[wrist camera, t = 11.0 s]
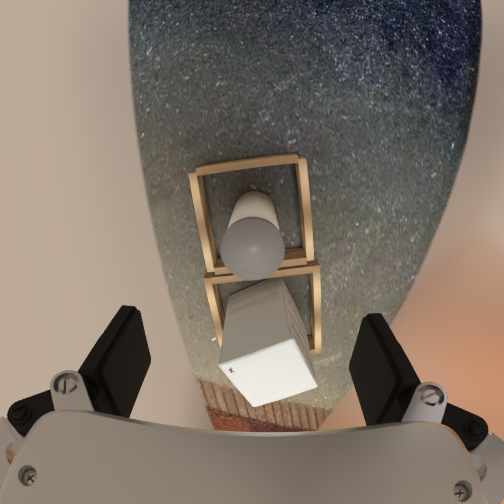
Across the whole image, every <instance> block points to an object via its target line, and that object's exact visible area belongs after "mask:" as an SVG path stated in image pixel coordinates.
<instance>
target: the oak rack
mask: <svg viewBox="0 0 504 504" xmlns="http://www.w3.org/2000/svg"><path fill="white" fill-rule="evenodd" d="M292 163H295V168H296V178H297V188H298V198H299V209H300V220H301V232H302V245H303V247H302V248H293V249H285V255H284V259H283V262H282V264H281V265H280V267H279V268H278V269H277V271H275V272H274V273H273V274H272V275H270V276H268V277H266V278H274V277H283V276H291V275H300V274H308V273H309V277H310V299H311V330H312V335H311V336H307V339H308V344H309V348H310V353H311V354H317V353H321V285H320V265H319V262H318V260H317V258H316V256H315V255H314V248H313V231H312V217H311V204H310V192H309V181H308V171H307V161H306V158H305V157H302V156H299V157H298V155H297V154H294V153H292V154H282V155H273V156H264V157H256V158H248V159H241V160H233V161H227V162H220V163H214V164H208V165H202V166H199V167H197V168H195V169H196V170H194V171H192V172H191V173H189V174H188V175H189V181H190V186H191V192H192V197H193V203H194V208H195V213H196V219H197V224H198V229H199V234H200V239H201V244H202V249H203V254H204V258H205V263H206V268H207V270H206V273H205V276H204V283H205V287H206V292H207V296H208V300H209V304H210V308H211V313H212V317H213V321H214V325H215V329H216V333H217V337H218V340H219V344H220V348H221V343H222V336H223V330H224V323H225V315H224V311H223V306H222V302H221V297H220V292H219V288H218V284H219V283H229V282H238V281H247V280H246V279H242V278H239V277H237V276H235V275H234V274H232V273H231V272H230V271H229V270H228V269H227V268H226V266H225V265H224V263H223V261H222V258H221V257H217V253H216V247H215V242H214V237H213V231H212V226H211V220H210V215H209V209H208V204H207V198H206V192H205V186H204V180H203V175H207V174H213V173H220V172H227V171H234V170H241V169H248V168H256V167H264V166H273V165H282V164H292ZM266 278H264V279H266Z"/></svg>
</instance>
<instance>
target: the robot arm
mask: <svg viewBox="0 0 504 504" xmlns="http://www.w3.org/2000/svg"><path fill="white" fill-rule="evenodd" d="M150 363H151V356H150V352H149V348H148V344H147V340H146V335H145V331H144V326H143V322H142V317H141V313H140V311H139V310H137V308H136V307H135V306H126V305H123V306H121V308H120V309H119V311H118V312H117V314H116V315H115V316H114V318H113V319H112V321H111V322H110V324H109V325H108V327H107V328H106V330H105V331H104V333H103V334H102V335H101V336H100V338H99V339H98V341H97V342H96V344H95V345H94V347H93V348H92V350H91V352H90V353H89V355H88V356H87V358H86V359H85V361H84V362H83V364H82V366H81V367H80V369H79V370H78V372H76V371H72V370H66V371H62V372H60V373H58V374H56V375H55V376H54V377H53V379H52V380H51V383H50V390H47V391H45V392H42V393H39V394H36V395H34V396H31V397H28V398H25V399H22V400H19V401H17V402H15V403H14V404H13V405H11V407H10V408H9V410H8V413H7V416H8V417H7V418H6V419H5V418H4V417H2V418H0V504H500V503H501V502H502V500H503V499H504V441H503V440H501V439H500V438H499V437H498V436H496V435H495V434H494V433H492V434H491V435H489V433H488V425H487V423H486V422H485V420H484V419H483V418H481V417H479V416H477V415H475V414H473V413H470V412H468V411H466V410H463V409H461V408H459V407H457V406H454V405H452V404H450V403H447V399H448V396H447V393H446V392H445V390H444V388H443V387H441V386H440V385H438V384H436V383H433V382H424V383H421V382H420V380H419V378H418V376H417V374H416V372H415V371H414V369H413V367H412V365H411V363H410V361H409V359H408V358H407V356H406V354H405V352H404V351H403V349H402V347H401V345H400V344H399V343H398V341H397V340H396V338H395V336H394V334H393V333H392V331H391V329H390V327H389V326H388V324H387V322H386V321H385V319H384V317H383V316H382V314H381V313H372V314H367V316H366V317H363V319H362V322H361V326H360V329H359V333H358V337H357V340H356V343H355V347H354V350H353V353H352V357H351V360H350V363H349V370H350V374H351V377H352V380H353V383H354V386H355V389H356V392H357V395H358V399H359V402H360V405H361V409H362V412H363V415H364V418H365V421H366V425H367V426H364V427H355V428H345V429H336V430H324V431H309V432H276V433H264V432H233V431H217V430H205V429H195V428H187V427H179V426H172V425H164V424H158V423H152V422H147V421H141V420H136V419H130V418H129V417H130V414H131V411H132V409H133V406H134V404H135V401H136V399H137V396H138V393H139V391H140V388H141V386H142V383H143V381H144V378H145V376H146V373H147V371H148V368H149V366H150Z"/></svg>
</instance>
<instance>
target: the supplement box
mask: <svg viewBox="0 0 504 504" xmlns="http://www.w3.org/2000/svg"><path fill="white" fill-rule="evenodd" d="M218 366H219V367H220V368H221V369H222V370H223V372H224V373H225V374H226V375H227V376H228V378H229V379H230V380H231V381H232V383H233V384H234V385H235V386H236V387H237V388H238V390H239V391H240V392H241V393H242V394H243V396H244V397H245V398H246V399H247V400H248V401H249V403H250V404H251V405H252V406H253V407H257V406H260V405H263V404H267V403H270V402H273V401H277V400H280V399H283V398H286V397H289V396H292V395H295V394H298V393H301V392H304V391H307V390H310V389H313V388H316V387H318V383H317V379H316V374H315V370H314V365H313V361H312V357H311V353H310V348H309V344H308V339H307V335H306V330H305V325H304V321H303V317H302V315H301V314H300V312H299V310H298V308H297V306H296V304H295V302H294V300H293V298H292V296H291V294H290V292H289V290H288V288H287V286H286V284H285V282H284V280H283V278H282V277H274V278H269V279H267V280H264V281H262V282H260V283H258V284H255V285H253V286H251V287H248V288H246V289H244V290H241V291H239V292H237V293H234V294H232V295H230V296H229V298H228V304H227V310H226V317H225V323H224V330H223V336H222V343H221V349H220V356H219V363H218Z"/></svg>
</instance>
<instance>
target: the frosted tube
mask: <svg viewBox="0 0 504 504" xmlns="http://www.w3.org/2000/svg"><path fill="white" fill-rule="evenodd" d="M220 252H221V258H222V261H223V263H224V265H225V266H226V268H227V269H228V270H229V271H230V272H231V273H232V274H234V275H235V276H237V277H239V278H242V279H246V280H260V279H264V278H266V277H268V276H270V275H272V274H273V273H274V272H275V271H277V269H278V268H279V267H280V265H281V264H282V262H283V259H284V255H285V247H284V242H283V238H282V235H281V233H280V230H279V226H278V222H277V218H276V213H275V209H274V205H273V203H272V201H271V199H270V198H269V197H268V196H267V195H266V194H264V193H262V192H258V191H250V192H247V193H245V194H243V195H242V196H240V197H239V199H238V200H237V202H236V204H235V207H234V210H233V213H232V216H231V219H230V222H229V225H228V228H227V230H226V232H225V234H224V237H223V239H222V242H221V249H220Z"/></svg>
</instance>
